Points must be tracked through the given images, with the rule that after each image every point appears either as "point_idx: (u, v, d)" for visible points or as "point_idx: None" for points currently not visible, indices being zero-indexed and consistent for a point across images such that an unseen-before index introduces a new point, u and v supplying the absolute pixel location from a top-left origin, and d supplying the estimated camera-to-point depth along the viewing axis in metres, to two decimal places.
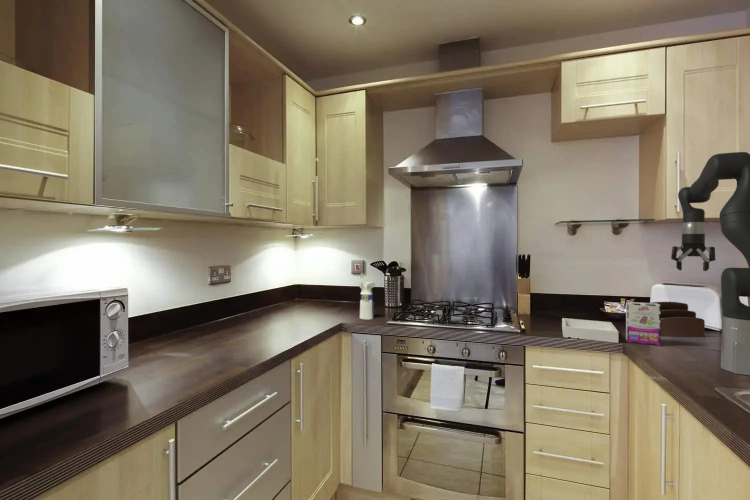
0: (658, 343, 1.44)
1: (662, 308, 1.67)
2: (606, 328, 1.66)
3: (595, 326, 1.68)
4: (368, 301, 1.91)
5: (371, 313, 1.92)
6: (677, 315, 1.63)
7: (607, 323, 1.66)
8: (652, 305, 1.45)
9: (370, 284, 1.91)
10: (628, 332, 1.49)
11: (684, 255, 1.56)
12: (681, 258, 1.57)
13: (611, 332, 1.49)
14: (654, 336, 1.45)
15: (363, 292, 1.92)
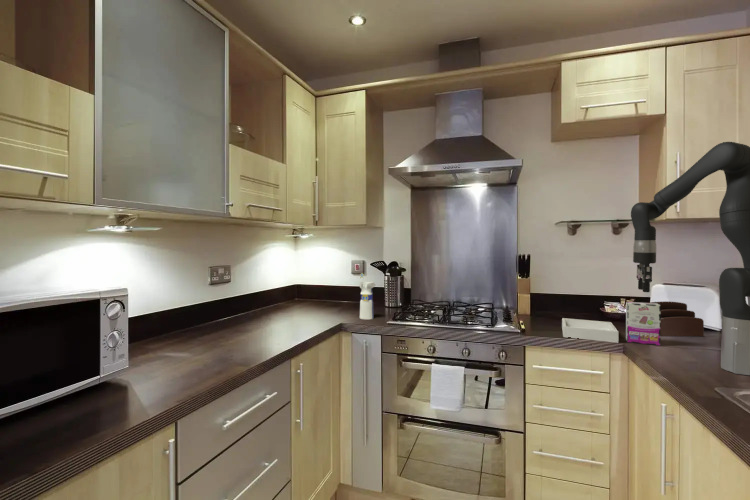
0: (658, 343, 1.44)
1: (661, 308, 1.68)
2: (606, 328, 1.66)
3: (595, 326, 1.68)
4: (368, 301, 1.91)
5: (371, 313, 1.92)
6: (676, 315, 1.63)
7: (607, 323, 1.66)
8: (652, 305, 1.45)
9: (370, 284, 1.91)
10: (628, 332, 1.49)
11: None
12: None
13: (611, 332, 1.49)
14: (654, 336, 1.45)
15: (363, 292, 1.92)
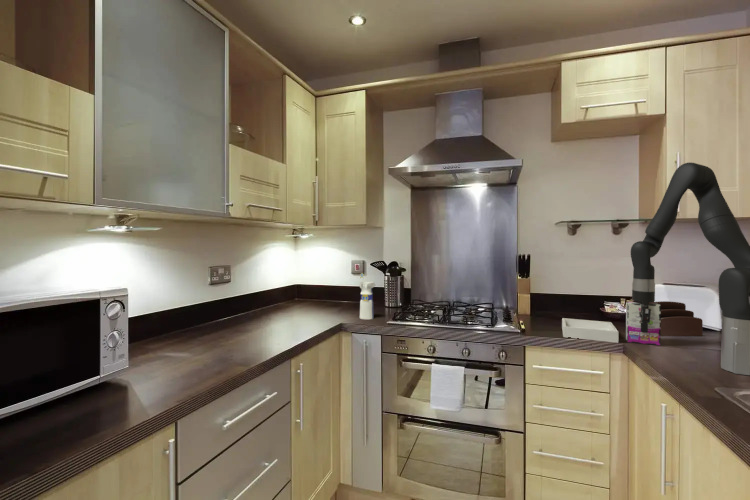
0: (658, 343, 1.44)
1: None
2: (606, 328, 1.66)
3: (595, 326, 1.68)
4: (368, 301, 1.91)
5: (371, 313, 1.92)
6: (675, 315, 1.64)
7: (607, 323, 1.66)
8: (652, 305, 1.45)
9: (370, 284, 1.91)
10: (628, 332, 1.49)
11: None
12: None
13: (611, 332, 1.49)
14: (654, 336, 1.45)
15: (363, 292, 1.92)
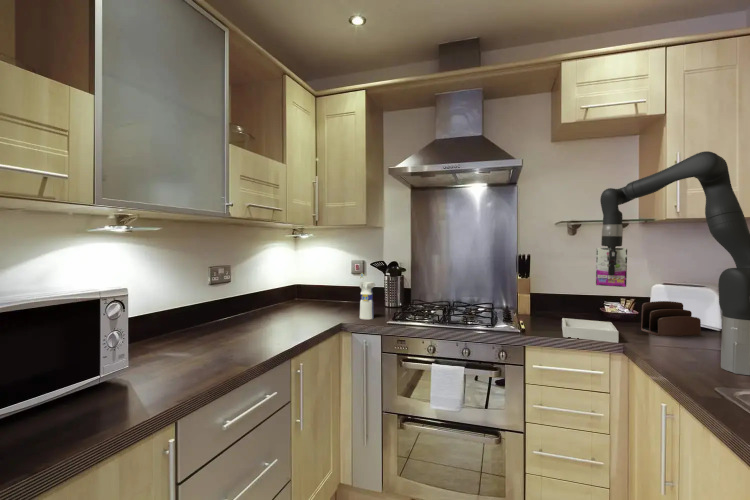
0: (624, 285, 1.52)
1: (659, 308, 1.69)
2: (606, 328, 1.66)
3: (595, 326, 1.68)
4: (368, 301, 1.91)
5: (371, 313, 1.92)
6: (674, 314, 1.64)
7: (607, 323, 1.66)
8: (619, 249, 1.53)
9: (370, 284, 1.91)
10: (597, 276, 1.57)
11: (616, 259, 1.53)
12: None
13: (611, 332, 1.49)
14: (621, 278, 1.53)
15: (363, 292, 1.92)
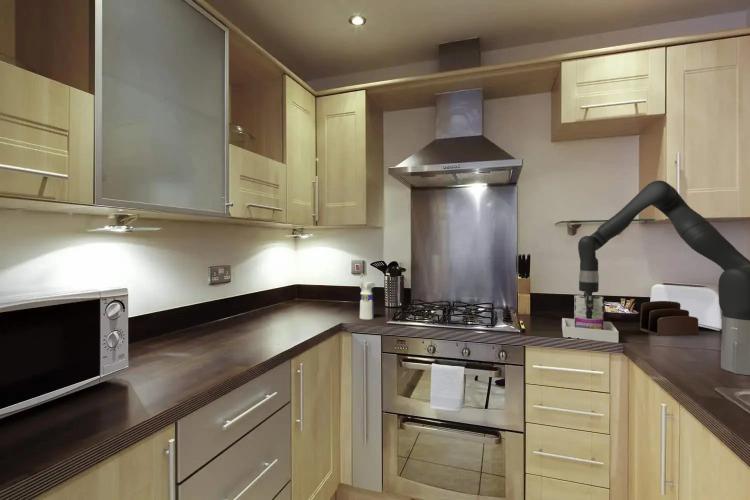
0: None
1: (657, 307, 1.69)
2: (606, 328, 1.66)
3: None
4: (368, 301, 1.91)
5: (371, 313, 1.92)
6: (672, 314, 1.65)
7: (607, 323, 1.66)
8: (596, 298, 1.58)
9: (370, 284, 1.91)
10: (575, 323, 1.62)
11: (593, 303, 1.58)
12: None
13: (611, 332, 1.49)
14: (598, 326, 1.58)
15: (363, 292, 1.92)
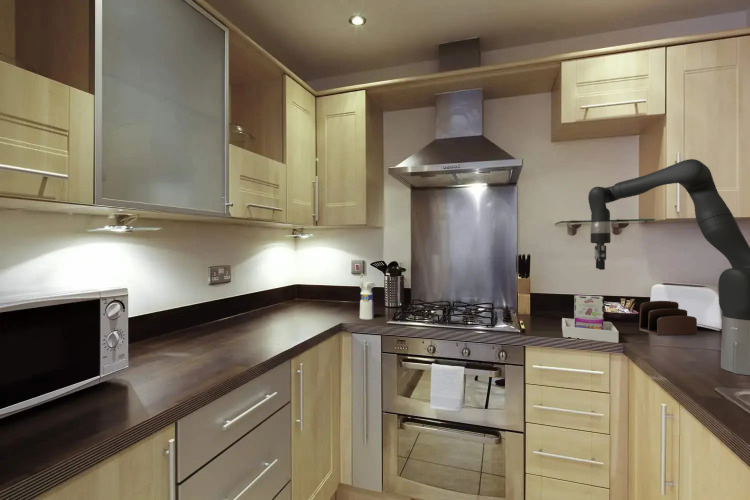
0: None
1: (656, 307, 1.69)
2: (606, 328, 1.66)
3: None
4: (368, 301, 1.91)
5: (371, 313, 1.92)
6: (671, 314, 1.66)
7: (607, 323, 1.66)
8: (596, 298, 1.58)
9: (370, 284, 1.91)
10: (575, 323, 1.62)
11: None
12: None
13: (611, 332, 1.49)
14: (598, 326, 1.58)
15: (363, 292, 1.92)
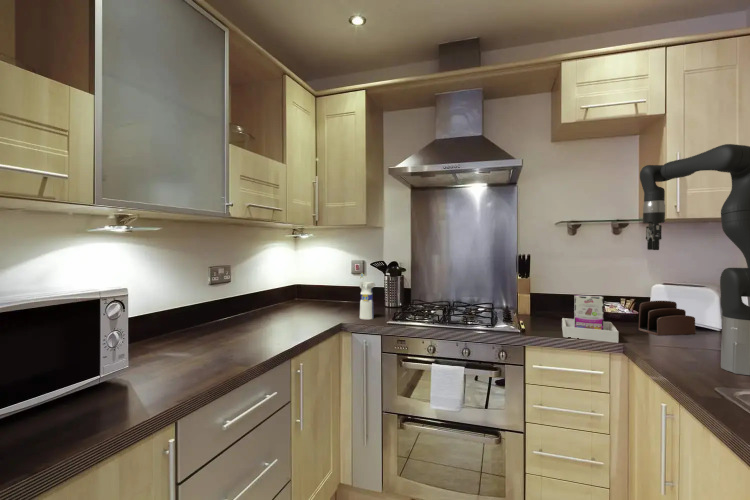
0: None
1: (655, 307, 1.70)
2: (606, 328, 1.66)
3: None
4: (368, 301, 1.91)
5: (371, 313, 1.92)
6: (670, 314, 1.66)
7: (607, 323, 1.66)
8: (596, 298, 1.58)
9: (370, 284, 1.91)
10: (575, 323, 1.62)
11: None
12: None
13: (611, 332, 1.49)
14: (598, 326, 1.58)
15: (363, 292, 1.92)
